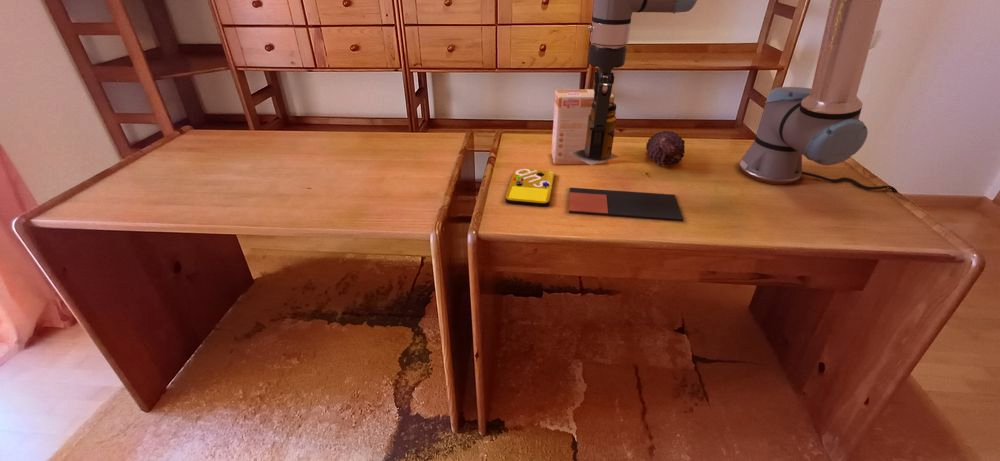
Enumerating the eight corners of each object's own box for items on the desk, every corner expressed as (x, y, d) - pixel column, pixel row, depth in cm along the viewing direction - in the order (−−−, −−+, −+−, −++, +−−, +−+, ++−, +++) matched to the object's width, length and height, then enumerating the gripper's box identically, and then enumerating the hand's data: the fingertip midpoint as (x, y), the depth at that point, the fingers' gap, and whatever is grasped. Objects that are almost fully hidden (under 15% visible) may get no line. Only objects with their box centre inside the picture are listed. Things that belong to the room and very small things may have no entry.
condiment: (619, 157, 108) (627, 105, 102) (591, 165, 104) (597, 112, 98) (596, 146, 113) (603, 96, 107) (569, 154, 109) (574, 102, 103)
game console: (550, 207, 115) (550, 202, 114) (504, 203, 116) (504, 198, 115) (554, 174, 130) (554, 169, 129) (513, 171, 131) (513, 167, 130)
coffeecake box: (600, 154, 142) (609, 88, 131) (606, 164, 136) (615, 96, 125) (550, 154, 141) (555, 88, 131) (553, 165, 135) (558, 96, 125)
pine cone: (629, 151, 143) (647, 121, 141) (656, 166, 146) (674, 137, 143) (654, 160, 126) (675, 126, 124) (683, 177, 129) (704, 144, 127)
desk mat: (674, 196, 120) (674, 193, 119) (682, 221, 110) (683, 218, 109) (569, 189, 123) (570, 186, 122) (568, 213, 113) (569, 210, 112)
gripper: (588, 34, 105) (578, 134, 117) (589, 54, 89) (577, 167, 101) (623, 36, 104) (609, 136, 116) (631, 56, 88) (613, 170, 100)
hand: (594, 151), depth 109 cm, fingers closed on condiment, 6 cm apart
